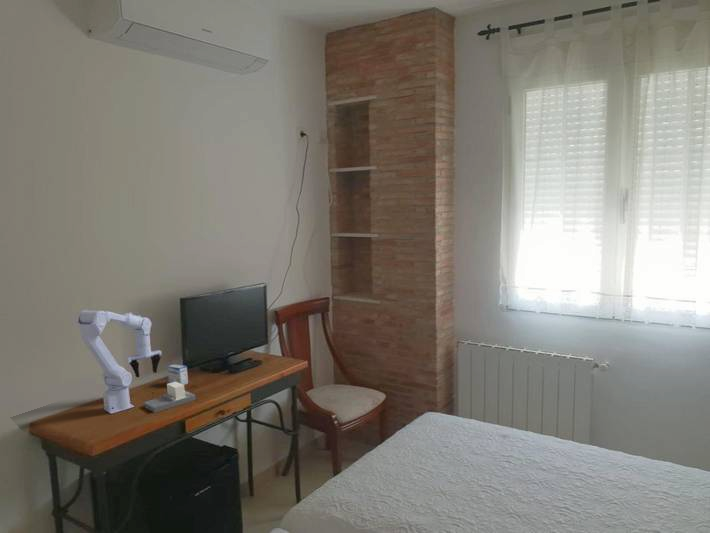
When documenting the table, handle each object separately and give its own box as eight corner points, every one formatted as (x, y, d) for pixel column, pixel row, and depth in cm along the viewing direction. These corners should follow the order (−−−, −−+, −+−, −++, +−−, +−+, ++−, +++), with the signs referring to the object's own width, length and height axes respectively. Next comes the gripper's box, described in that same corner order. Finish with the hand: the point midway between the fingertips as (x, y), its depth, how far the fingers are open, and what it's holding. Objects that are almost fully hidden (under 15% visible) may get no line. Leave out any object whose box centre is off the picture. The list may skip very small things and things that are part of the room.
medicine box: (168, 384, 250) (167, 366, 249) (176, 381, 254) (174, 363, 253) (181, 386, 247) (179, 368, 246) (188, 383, 250) (186, 365, 250)
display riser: (154, 412, 216) (153, 404, 215) (144, 406, 223) (143, 399, 222) (195, 399, 228) (195, 392, 227) (185, 394, 235) (184, 387, 235)
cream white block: (176, 399, 223) (175, 387, 222) (167, 395, 229) (166, 383, 228) (185, 396, 226) (184, 385, 225) (176, 392, 231) (175, 381, 231)
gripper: (130, 349, 226) (133, 380, 228) (163, 342, 236) (166, 372, 238) (123, 346, 231) (126, 377, 233) (156, 339, 241) (159, 369, 243)
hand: (146, 374), depth 235 cm, fingers open, 7 cm apart
